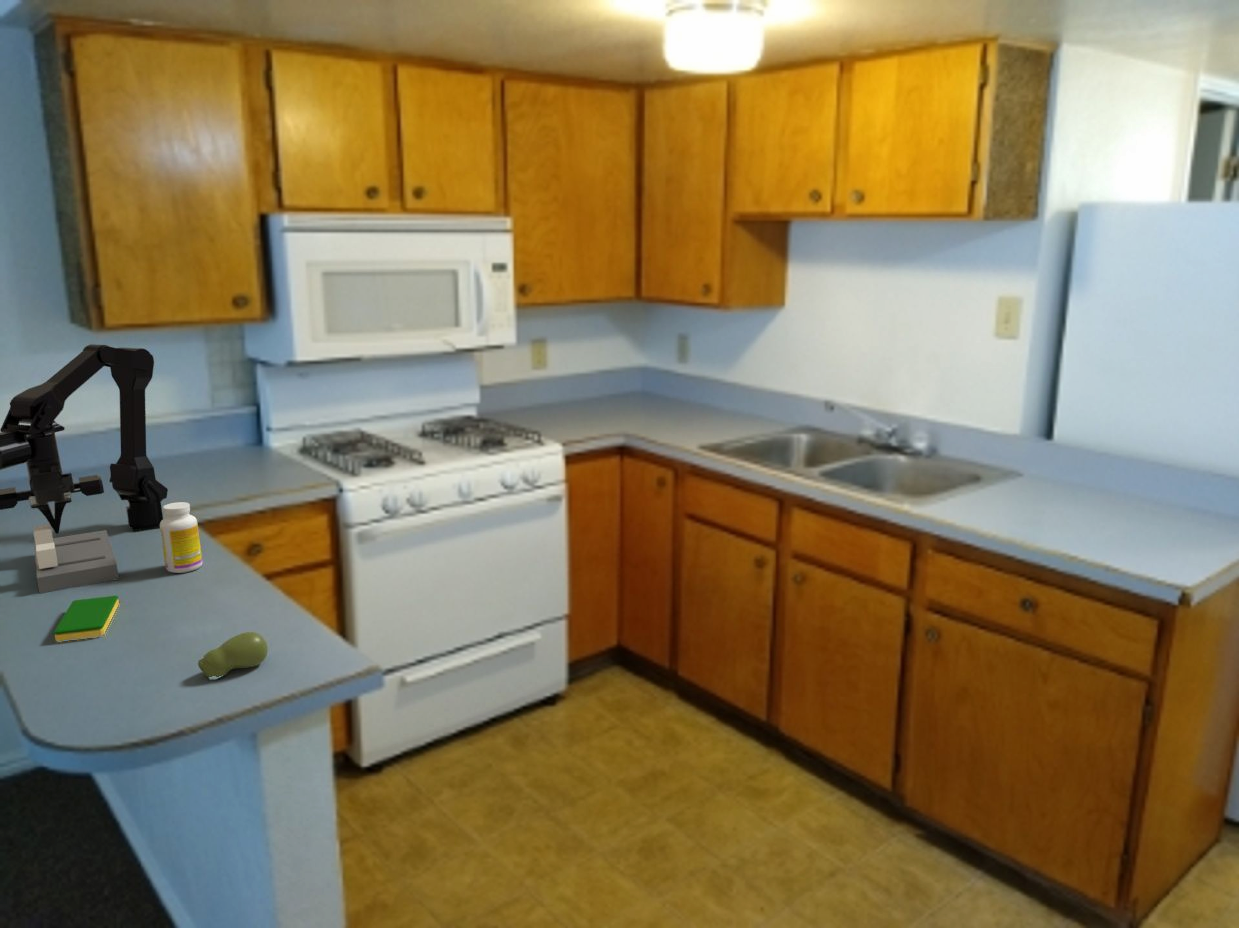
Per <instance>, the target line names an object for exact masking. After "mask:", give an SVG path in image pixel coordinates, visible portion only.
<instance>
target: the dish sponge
mask: <svg viewBox="0 0 1239 928" xmlns="http://www.w3.org/2000/svg"><path fill="white" fill-rule="evenodd" d="M118 605H119V606H120V601H119V595H111V596H110V595H109V596H102V597H101V596H100V597H99V596H98V597H93V598H85V599H84V598H83V599H76V600H73V601H72V602H71V603H70V605H69V607H68V608H67V610H66V611H65V613H64V615H63V617H62V618H61V620H60V621H59V623H58V625H57V626H56V628H55V629H54V631H53V634H54V638H55V642H56V641H63V640H68V639H69V640H70V639H80V638H86V637H87V638H88V637H95V636H99V635H103V634H105V631H106V629H107V627H108V625H109V623H110V621H111V619H112V617H113V615H114V613H115V611H116V609H117V607H118ZM105 635H106V634H105Z"/></svg>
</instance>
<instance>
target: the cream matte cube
mask: <svg viewBox="0 0 1239 928" xmlns="http://www.w3.org/2000/svg"><path fill="white" fill-rule="evenodd" d="M32 531H33V538H34V541H35V543H34V545H35V544H36V545H40V544H46V543H53V532H52V527H51V525H50V524H45V525H38V526H32Z"/></svg>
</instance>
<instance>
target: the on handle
mask: <svg viewBox="0 0 1239 928" xmlns="http://www.w3.org/2000/svg"><path fill="white" fill-rule="evenodd" d="M36 553H37V559H38V565H39V569H43V568H49V567H55V566H58V563H57V557H56V551H55V545H54V542H53V543H46V544H40V545H36Z"/></svg>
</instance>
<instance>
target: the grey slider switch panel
mask: <svg viewBox="0 0 1239 928" xmlns="http://www.w3.org/2000/svg"><path fill="white" fill-rule="evenodd" d="M33 542H34V552H35V553H34V554H35V568H36V571H35V572H36V579H37V580H36V581H37V585H38V592H39V594H43V593H49V592H54V591H55V592H56V591H60V590H66V589H70V588H71V589H72V588H78V587H84V586H87V585H93V584H98V583H99V584H100V583H105V582H109V581H110V582H111V581H115V580H114V579H116V580H119V571H118V570H119V569H118V566H117V565H118V564H117V561H116V558H115V554H114V551H113V548H112V545H111V541H110V538H109V534H108V532H107V529H105V530H100V531H99V530H98V531H92V532H86V533H79V534H72V535H68V536H67V535H66V536H60V537H54V538H53V542H54V545H55V551H56V557H57V563H58V566H55V567H49V568H43V569H39V565H38V559H37V553H36V544H35V540H34V541H33ZM104 581H105V582H104Z"/></svg>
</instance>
